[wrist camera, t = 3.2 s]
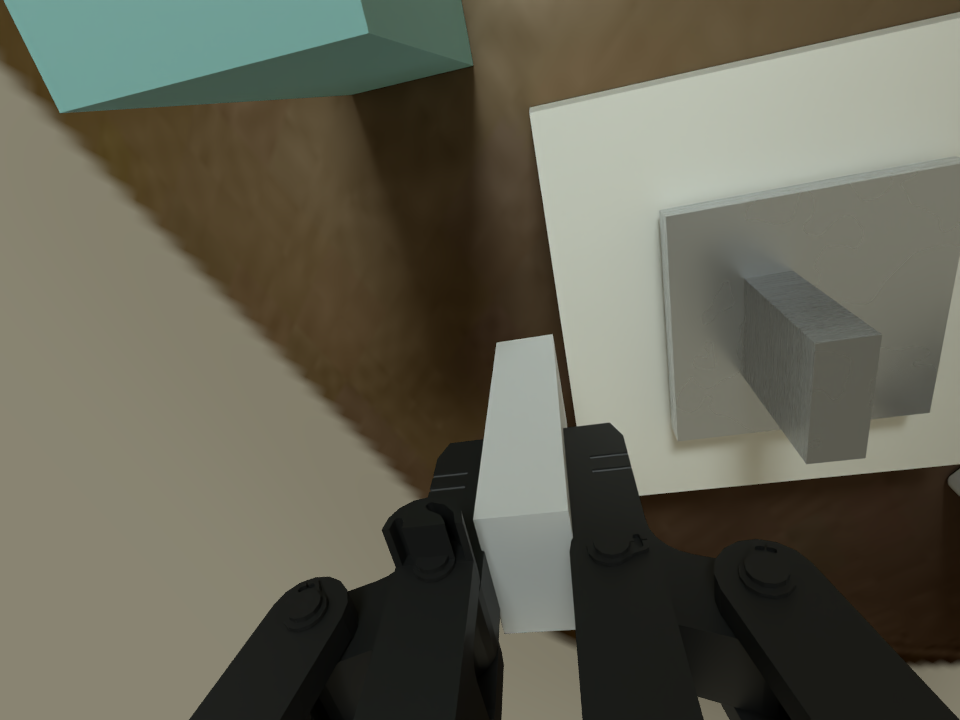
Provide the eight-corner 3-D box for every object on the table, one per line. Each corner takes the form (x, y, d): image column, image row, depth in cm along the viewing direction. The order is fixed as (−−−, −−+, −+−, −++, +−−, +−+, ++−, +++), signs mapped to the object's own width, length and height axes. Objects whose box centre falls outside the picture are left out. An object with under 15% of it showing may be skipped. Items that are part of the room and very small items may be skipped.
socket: (529, 107, 17) (529, 112, 14) (999, 2, 15) (1124, -19, 12) (580, 443, 23) (587, 500, 19) (925, 403, 20) (996, 460, 17)
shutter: (659, 210, 14) (713, 263, 10) (953, 156, 13) (1155, 190, 9) (671, 426, 17) (717, 538, 13) (912, 398, 16) (1048, 510, 12)
